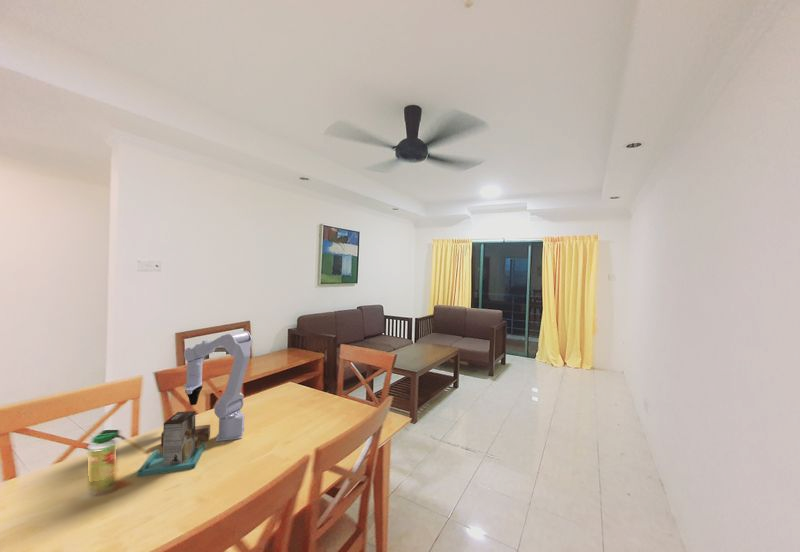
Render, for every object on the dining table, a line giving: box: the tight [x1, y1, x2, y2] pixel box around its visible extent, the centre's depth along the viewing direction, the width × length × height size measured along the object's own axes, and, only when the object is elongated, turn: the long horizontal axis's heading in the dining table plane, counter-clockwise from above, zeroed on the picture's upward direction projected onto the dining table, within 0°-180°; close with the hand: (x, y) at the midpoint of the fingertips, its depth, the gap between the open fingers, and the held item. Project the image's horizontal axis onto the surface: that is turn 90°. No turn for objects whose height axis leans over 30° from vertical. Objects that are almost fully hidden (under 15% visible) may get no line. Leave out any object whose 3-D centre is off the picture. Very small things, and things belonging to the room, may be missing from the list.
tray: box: [137, 443, 206, 477], centre depth 111 cm, size 16×13×2 cm
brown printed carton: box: [160, 424, 211, 449], centre depth 120 cm, size 16×10×5 cm, turn 109°
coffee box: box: [162, 410, 197, 466], centre depth 111 cm, size 9×6×16 cm
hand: (193, 404), depth 135 cm, fingers closed
